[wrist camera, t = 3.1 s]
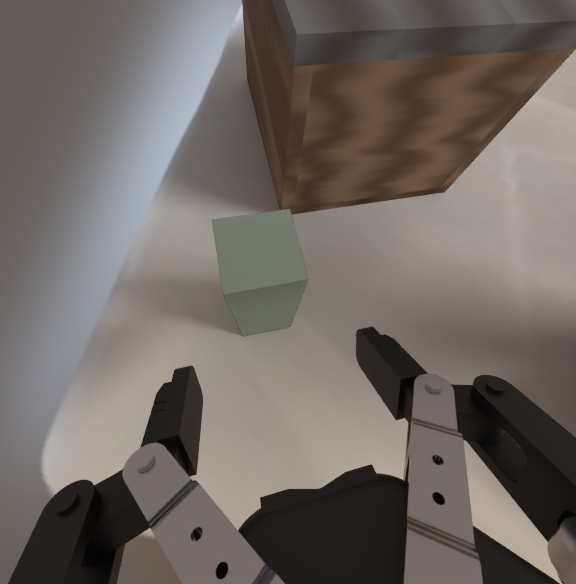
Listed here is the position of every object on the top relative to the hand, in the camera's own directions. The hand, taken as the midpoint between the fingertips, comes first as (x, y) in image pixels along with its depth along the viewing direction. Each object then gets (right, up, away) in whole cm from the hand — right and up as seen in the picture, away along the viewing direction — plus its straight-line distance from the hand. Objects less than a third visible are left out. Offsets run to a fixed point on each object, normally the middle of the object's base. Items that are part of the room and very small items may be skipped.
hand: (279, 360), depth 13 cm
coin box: (+7, +24, +21) cm, 32 cm away
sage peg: (-2, +2, +13) cm, 13 cm away
